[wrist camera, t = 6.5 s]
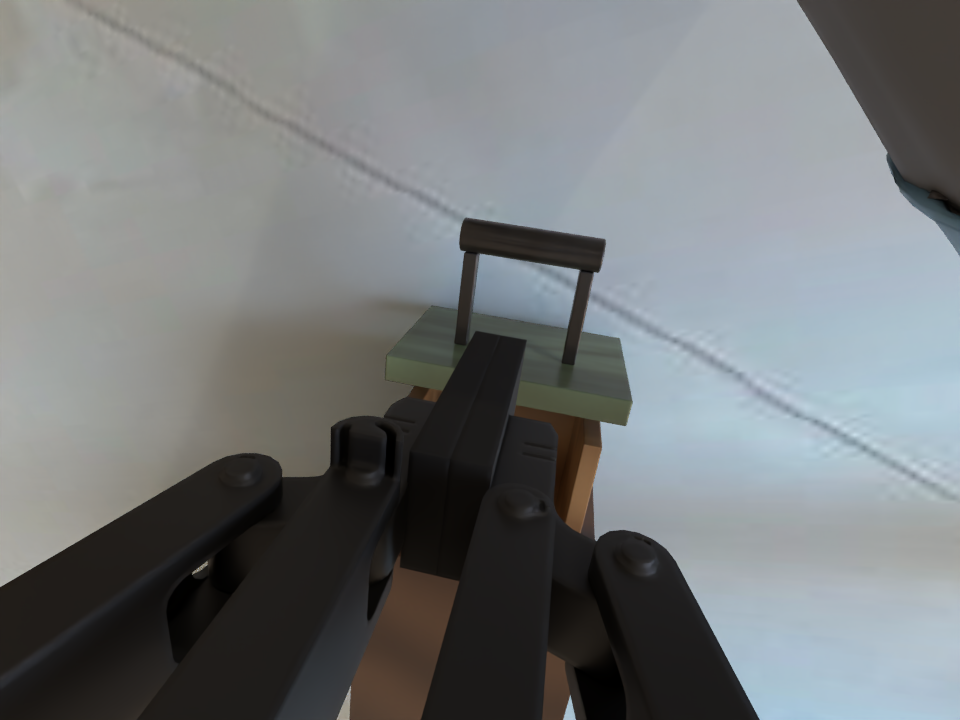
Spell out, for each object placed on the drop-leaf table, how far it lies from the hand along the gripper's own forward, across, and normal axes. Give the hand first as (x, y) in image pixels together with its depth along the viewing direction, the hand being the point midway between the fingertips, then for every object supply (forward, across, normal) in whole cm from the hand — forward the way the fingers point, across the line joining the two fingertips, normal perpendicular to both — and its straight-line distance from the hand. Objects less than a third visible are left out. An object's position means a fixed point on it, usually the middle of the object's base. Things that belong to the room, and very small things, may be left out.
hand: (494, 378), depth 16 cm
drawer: (+13, 0, -6) cm, 15 cm away
